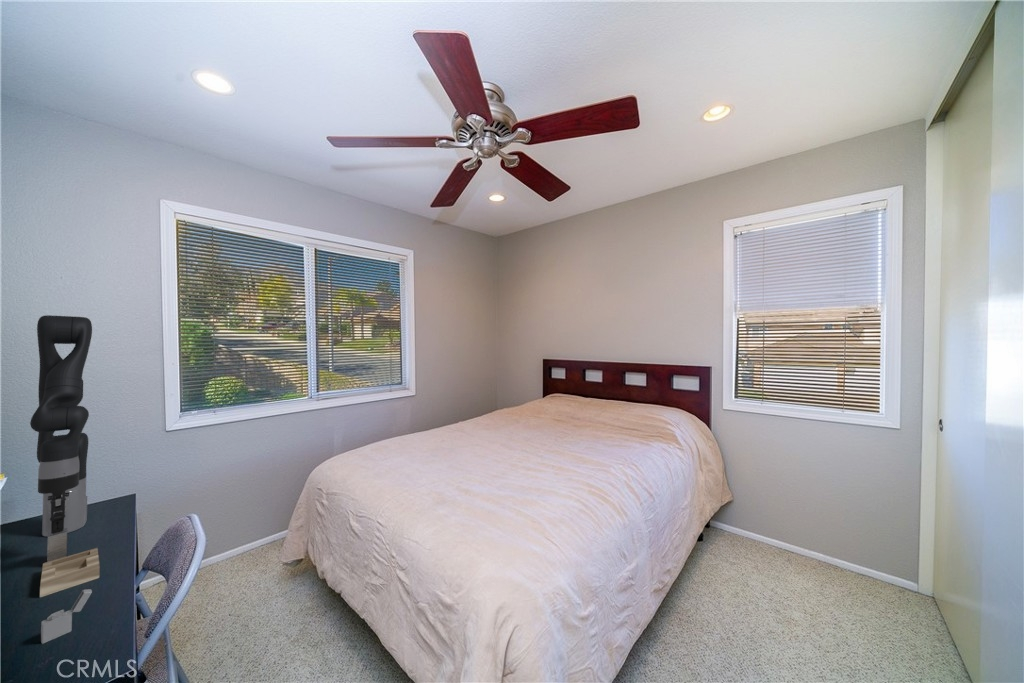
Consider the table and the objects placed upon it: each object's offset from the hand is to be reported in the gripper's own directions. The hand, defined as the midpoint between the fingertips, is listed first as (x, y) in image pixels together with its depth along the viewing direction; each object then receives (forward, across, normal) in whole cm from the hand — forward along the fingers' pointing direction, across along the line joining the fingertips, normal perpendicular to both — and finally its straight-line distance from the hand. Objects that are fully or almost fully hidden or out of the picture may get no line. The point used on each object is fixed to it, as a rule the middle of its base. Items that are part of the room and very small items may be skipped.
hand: (57, 527), depth 104 cm
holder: (+11, -12, -3) cm, 16 cm away
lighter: (+12, -40, -2) cm, 42 cm away
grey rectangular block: (+11, 0, 0) cm, 11 cm away
